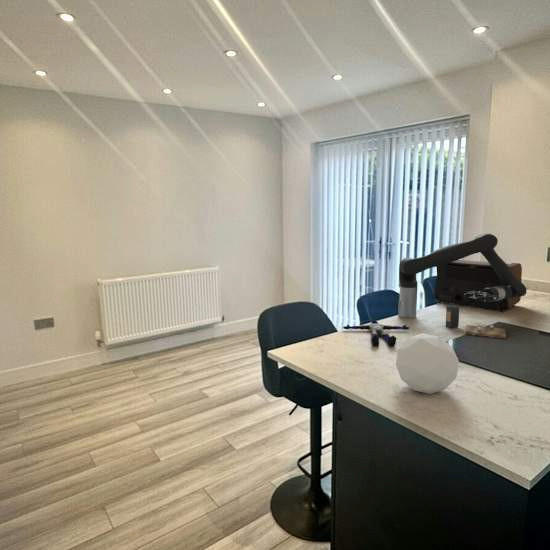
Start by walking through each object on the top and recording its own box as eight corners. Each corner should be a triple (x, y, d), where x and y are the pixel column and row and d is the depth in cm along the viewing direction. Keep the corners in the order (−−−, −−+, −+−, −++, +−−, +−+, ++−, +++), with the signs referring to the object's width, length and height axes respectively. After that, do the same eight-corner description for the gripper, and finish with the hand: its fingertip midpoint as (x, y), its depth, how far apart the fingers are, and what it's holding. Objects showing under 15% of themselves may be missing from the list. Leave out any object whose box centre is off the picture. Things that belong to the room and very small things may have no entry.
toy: (346, 335, 176) (342, 316, 206) (346, 348, 177) (342, 327, 207) (422, 335, 173) (406, 316, 202) (422, 349, 174) (406, 328, 203)
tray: (464, 334, 190) (465, 327, 190) (466, 327, 201) (466, 320, 200) (505, 338, 182) (506, 331, 182) (504, 331, 193) (505, 324, 192)
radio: (426, 303, 253) (427, 260, 248) (448, 295, 275) (450, 256, 270) (503, 316, 220) (507, 267, 216) (521, 305, 242) (525, 261, 238)
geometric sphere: (409, 408, 135) (373, 359, 137) (441, 375, 144) (408, 329, 146) (448, 404, 118) (407, 348, 120) (482, 366, 127) (444, 315, 130)
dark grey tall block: (453, 325, 205) (454, 305, 203) (458, 327, 201) (459, 306, 200) (445, 326, 203) (446, 306, 201) (450, 328, 200) (451, 307, 198)
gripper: (482, 285, 216) (459, 288, 210) (505, 289, 202) (482, 293, 197) (481, 298, 217) (459, 302, 211) (505, 303, 204) (481, 307, 198)
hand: (470, 297), depth 204 cm, fingers open, 8 cm apart
